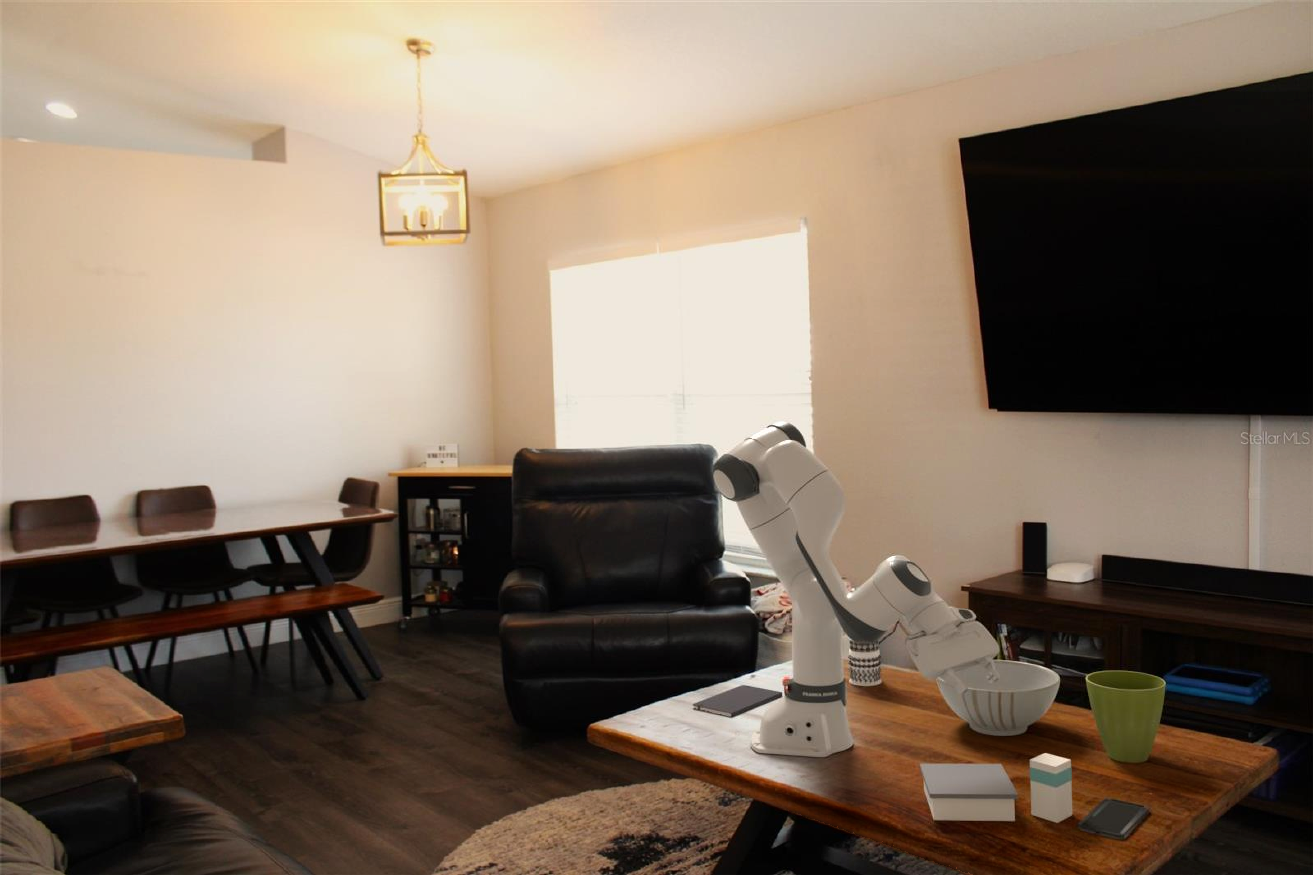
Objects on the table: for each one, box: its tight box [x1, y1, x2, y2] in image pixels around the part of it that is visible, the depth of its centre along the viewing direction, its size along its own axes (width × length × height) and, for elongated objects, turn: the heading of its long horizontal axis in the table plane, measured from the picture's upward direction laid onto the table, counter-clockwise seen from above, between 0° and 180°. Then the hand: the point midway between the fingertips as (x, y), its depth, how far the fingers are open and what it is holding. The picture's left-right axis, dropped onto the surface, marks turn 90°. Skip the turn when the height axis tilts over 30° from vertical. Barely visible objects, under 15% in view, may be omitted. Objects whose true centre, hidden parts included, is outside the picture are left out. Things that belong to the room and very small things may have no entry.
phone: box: [1077, 798, 1150, 840], centre depth 181 cm, size 8×1×15 cm
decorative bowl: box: [935, 659, 1061, 737], centre depth 233 cm, size 27×27×12 cm
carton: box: [1029, 752, 1073, 824], centre depth 184 cm, size 5×5×10 cm
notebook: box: [692, 684, 783, 718], centre depth 261 cm, size 13×2×21 cm
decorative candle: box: [846, 586, 883, 687], centre depth 274 cm, size 9×9×25 cm
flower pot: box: [1085, 670, 1167, 764], centre depth 211 cm, size 15×15×16 cm
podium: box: [919, 763, 1019, 822], centre depth 190 cm, size 15×15×5 cm
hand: (980, 686), depth 194 cm, fingers open, 8 cm apart
